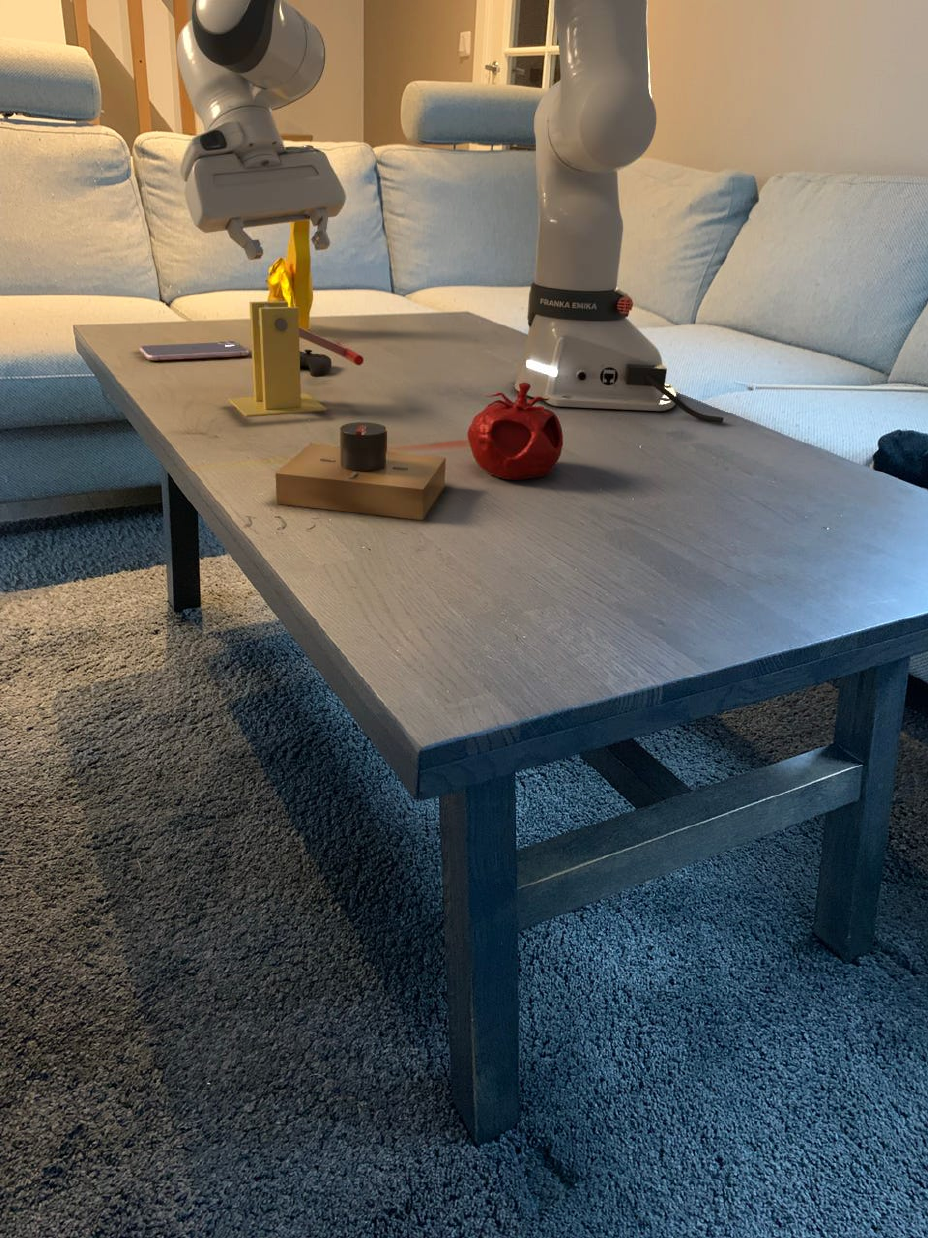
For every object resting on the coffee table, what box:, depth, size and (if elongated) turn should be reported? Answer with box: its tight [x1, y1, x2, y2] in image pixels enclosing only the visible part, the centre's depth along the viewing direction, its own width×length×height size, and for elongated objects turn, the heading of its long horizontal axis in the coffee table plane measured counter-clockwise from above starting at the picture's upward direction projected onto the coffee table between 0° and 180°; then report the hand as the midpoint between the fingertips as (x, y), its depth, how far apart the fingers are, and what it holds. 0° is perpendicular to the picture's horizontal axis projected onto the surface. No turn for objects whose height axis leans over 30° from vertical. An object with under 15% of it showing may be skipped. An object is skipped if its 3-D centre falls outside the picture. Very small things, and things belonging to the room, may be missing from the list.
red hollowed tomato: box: [467, 383, 564, 481], centre depth 100 cm, size 10×10×9 cm
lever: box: [258, 305, 365, 366], centre depth 116 cm, size 12×8×2 cm, turn 117°
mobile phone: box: [139, 340, 250, 362], centre depth 144 cm, size 8×1×15 cm
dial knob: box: [339, 421, 388, 471], centre depth 91 cm, size 4×4×4 cm
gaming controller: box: [300, 349, 333, 378], centre depth 136 cm, size 10×5×6 cm
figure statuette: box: [265, 220, 314, 331], centre depth 159 cm, size 18×8×22 cm, turn 23°
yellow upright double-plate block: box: [228, 300, 328, 418], centre depth 115 cm, size 10×8×13 cm
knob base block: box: [275, 442, 447, 521], centre depth 93 cm, size 14×10×3 cm
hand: (290, 252), depth 120 cm, fingers open, 8 cm apart
